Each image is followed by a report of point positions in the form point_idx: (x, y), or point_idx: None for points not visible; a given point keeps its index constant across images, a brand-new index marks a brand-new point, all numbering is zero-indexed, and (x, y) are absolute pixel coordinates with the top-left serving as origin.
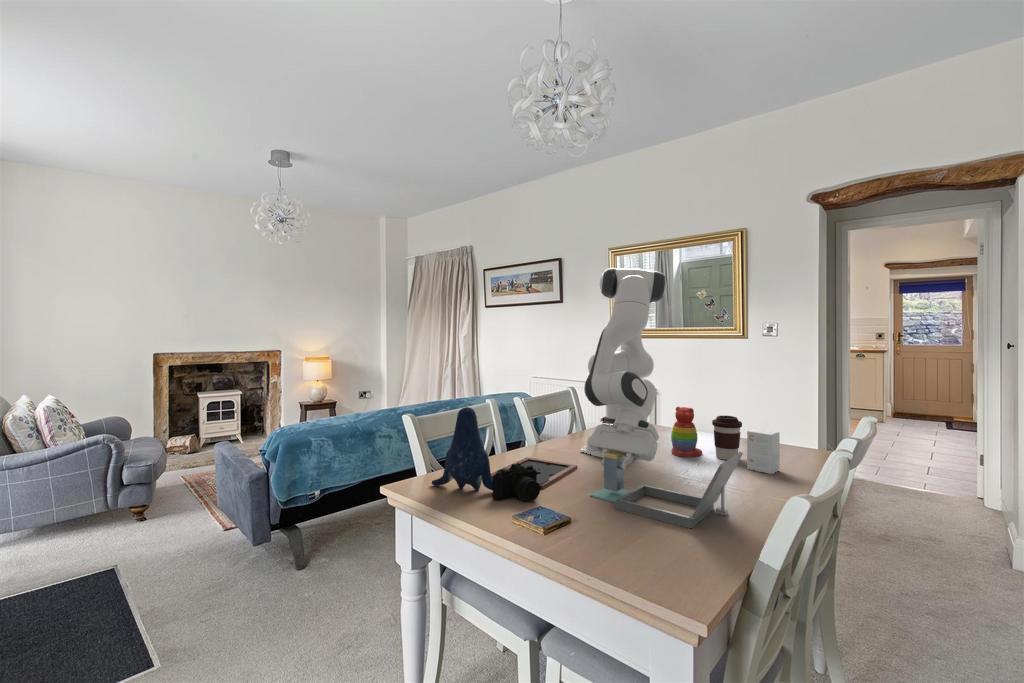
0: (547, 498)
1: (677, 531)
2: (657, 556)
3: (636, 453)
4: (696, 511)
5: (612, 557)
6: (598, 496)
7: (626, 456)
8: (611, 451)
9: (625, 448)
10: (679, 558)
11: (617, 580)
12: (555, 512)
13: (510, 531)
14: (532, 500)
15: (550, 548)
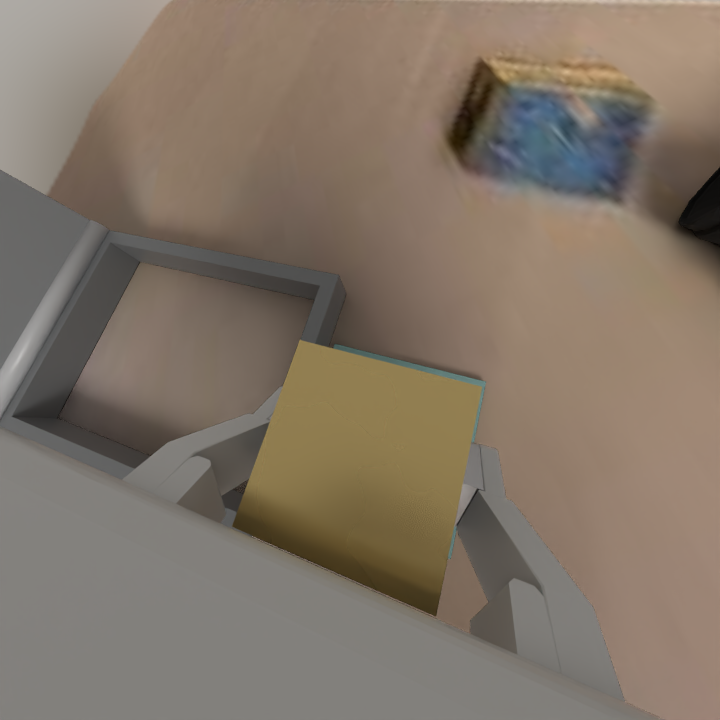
0: (645, 281)
1: (170, 222)
2: (220, 100)
3: (43, 447)
4: (65, 208)
5: (302, 58)
6: (440, 375)
7: (208, 461)
8: (422, 593)
9: (133, 546)
10: (181, 113)
11: (282, 9)
12: (530, 180)
13: (577, 31)
14: (683, 214)
15: (435, 24)
